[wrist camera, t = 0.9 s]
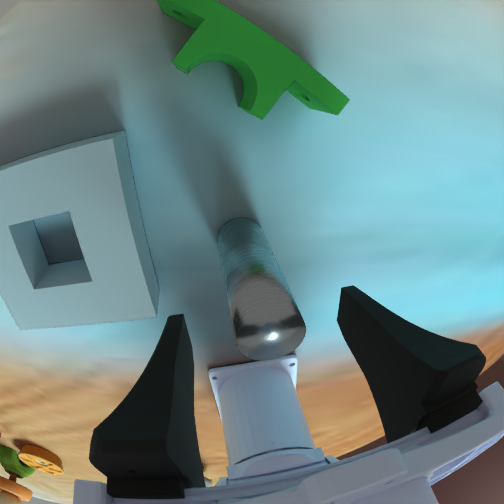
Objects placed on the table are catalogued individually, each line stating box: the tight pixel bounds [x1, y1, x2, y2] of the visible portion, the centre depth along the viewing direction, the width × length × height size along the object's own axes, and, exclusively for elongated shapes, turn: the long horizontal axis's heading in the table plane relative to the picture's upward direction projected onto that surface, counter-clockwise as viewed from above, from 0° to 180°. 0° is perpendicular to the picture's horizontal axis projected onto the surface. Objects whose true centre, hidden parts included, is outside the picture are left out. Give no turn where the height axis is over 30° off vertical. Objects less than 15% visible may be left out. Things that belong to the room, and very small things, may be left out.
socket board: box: [0, 130, 159, 330], centre depth 17 cm, size 11×11×3 cm
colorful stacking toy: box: [0, 433, 63, 504], centre depth 26 cm, size 18×17×12 cm
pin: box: [217, 218, 306, 361], centre depth 17 cm, size 3×3×9 cm
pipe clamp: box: [157, 0, 350, 120], centre depth 13 cm, size 10×4×4 cm, turn 54°
